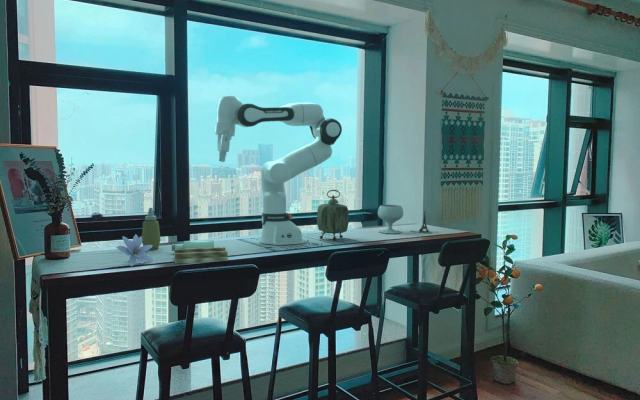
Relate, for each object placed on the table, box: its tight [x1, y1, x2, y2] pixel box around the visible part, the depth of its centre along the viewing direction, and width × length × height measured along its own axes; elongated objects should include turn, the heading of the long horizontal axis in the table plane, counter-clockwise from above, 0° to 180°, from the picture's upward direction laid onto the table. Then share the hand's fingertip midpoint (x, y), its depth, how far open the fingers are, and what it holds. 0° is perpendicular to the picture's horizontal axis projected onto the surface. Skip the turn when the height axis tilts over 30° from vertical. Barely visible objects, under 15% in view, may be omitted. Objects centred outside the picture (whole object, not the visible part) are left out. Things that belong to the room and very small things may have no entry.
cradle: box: [174, 246, 229, 264], centre depth 193 cm, size 20×12×4 cm, turn 106°
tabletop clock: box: [316, 189, 350, 241], centre depth 242 cm, size 14×9×25 cm, turn 108°
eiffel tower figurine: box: [411, 210, 439, 235], centre depth 273 cm, size 15×10×13 cm
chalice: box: [377, 204, 404, 235], centre depth 268 cm, size 14×14×15 cm
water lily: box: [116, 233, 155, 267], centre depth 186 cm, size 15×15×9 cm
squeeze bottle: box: [141, 207, 162, 250], centre depth 214 cm, size 8×8×18 cm
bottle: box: [171, 239, 215, 252], centre depth 207 cm, size 17×5×5 cm, turn 106°
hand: (221, 161), depth 223 cm, fingers open, 8 cm apart
